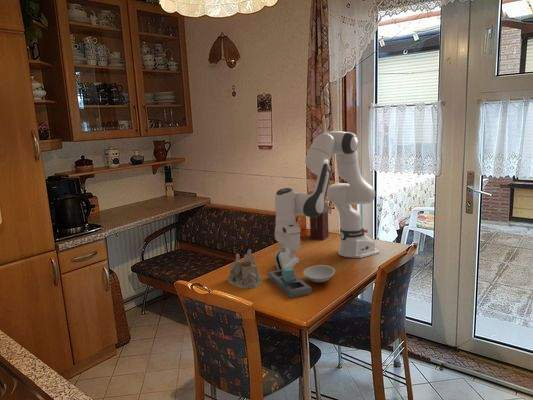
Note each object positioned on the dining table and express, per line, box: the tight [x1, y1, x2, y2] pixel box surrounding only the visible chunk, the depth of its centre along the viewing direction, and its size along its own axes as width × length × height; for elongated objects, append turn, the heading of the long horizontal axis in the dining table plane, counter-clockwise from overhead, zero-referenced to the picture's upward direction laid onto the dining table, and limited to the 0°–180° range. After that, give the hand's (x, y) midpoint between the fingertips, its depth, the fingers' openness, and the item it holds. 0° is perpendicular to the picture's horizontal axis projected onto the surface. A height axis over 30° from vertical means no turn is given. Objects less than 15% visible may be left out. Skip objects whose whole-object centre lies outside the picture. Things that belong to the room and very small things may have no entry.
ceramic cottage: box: [227, 248, 262, 290], centre depth 194 cm, size 16×16×15 cm
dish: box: [302, 264, 336, 283], centre depth 191 cm, size 18×14×5 cm
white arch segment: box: [274, 247, 300, 270], centre depth 215 cm, size 17×5×10 cm, turn 153°
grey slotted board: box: [267, 269, 312, 299], centre depth 188 cm, size 10×26×3 cm, turn 21°
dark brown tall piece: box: [309, 200, 330, 241], centre depth 259 cm, size 9×11×28 cm
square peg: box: [281, 267, 296, 283], centre depth 188 cm, size 4×4×8 cm
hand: (287, 255), depth 186 cm, fingers open, 8 cm apart
